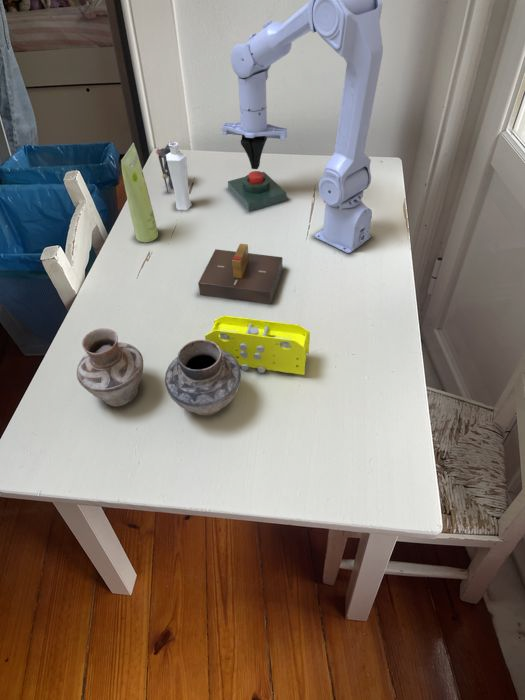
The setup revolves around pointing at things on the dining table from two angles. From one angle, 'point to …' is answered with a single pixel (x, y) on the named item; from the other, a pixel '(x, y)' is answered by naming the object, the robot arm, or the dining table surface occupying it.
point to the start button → (256, 177)
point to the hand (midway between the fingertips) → (255, 167)
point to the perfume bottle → (179, 176)
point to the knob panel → (252, 285)
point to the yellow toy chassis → (262, 343)
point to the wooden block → (240, 261)
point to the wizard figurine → (165, 164)
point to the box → (256, 192)
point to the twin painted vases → (181, 376)
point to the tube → (138, 197)
